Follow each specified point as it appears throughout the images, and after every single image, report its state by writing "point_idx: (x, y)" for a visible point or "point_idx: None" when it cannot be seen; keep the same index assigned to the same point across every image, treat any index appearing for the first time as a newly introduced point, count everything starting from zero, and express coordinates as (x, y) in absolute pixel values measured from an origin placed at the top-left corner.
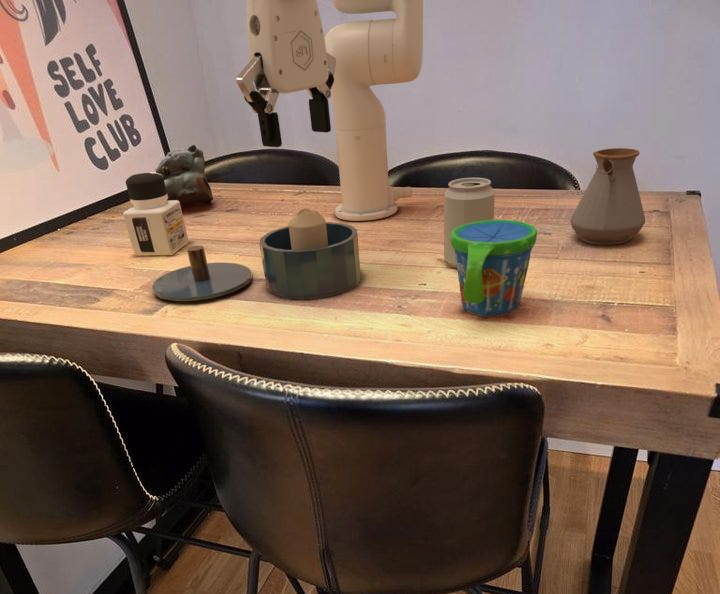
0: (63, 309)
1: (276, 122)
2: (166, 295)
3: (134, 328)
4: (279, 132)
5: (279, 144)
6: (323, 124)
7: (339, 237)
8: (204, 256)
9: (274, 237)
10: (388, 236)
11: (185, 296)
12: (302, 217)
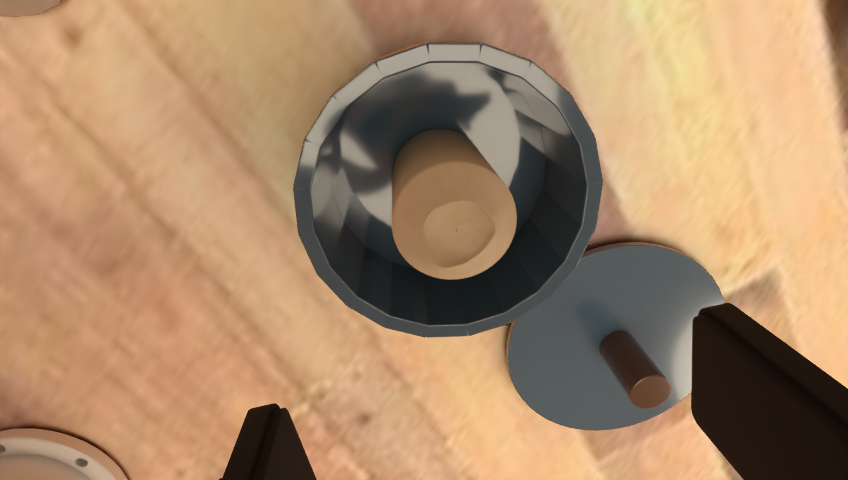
0: None
1: (837, 387)
2: None
3: (838, 234)
4: (762, 346)
5: (726, 306)
6: (283, 454)
7: (321, 220)
8: (633, 365)
9: (489, 308)
10: (94, 309)
11: (707, 279)
12: (492, 205)
